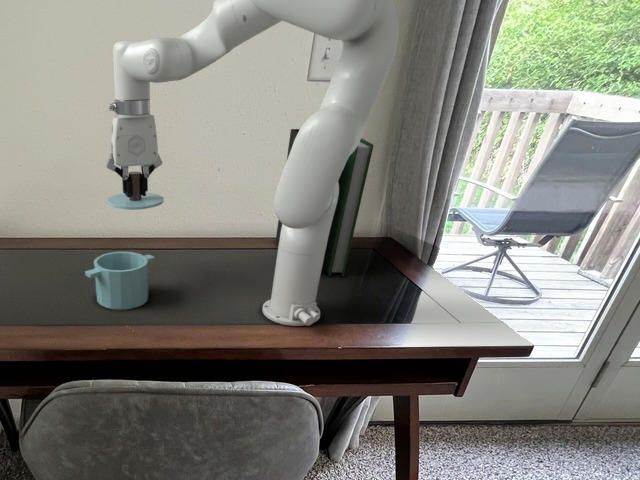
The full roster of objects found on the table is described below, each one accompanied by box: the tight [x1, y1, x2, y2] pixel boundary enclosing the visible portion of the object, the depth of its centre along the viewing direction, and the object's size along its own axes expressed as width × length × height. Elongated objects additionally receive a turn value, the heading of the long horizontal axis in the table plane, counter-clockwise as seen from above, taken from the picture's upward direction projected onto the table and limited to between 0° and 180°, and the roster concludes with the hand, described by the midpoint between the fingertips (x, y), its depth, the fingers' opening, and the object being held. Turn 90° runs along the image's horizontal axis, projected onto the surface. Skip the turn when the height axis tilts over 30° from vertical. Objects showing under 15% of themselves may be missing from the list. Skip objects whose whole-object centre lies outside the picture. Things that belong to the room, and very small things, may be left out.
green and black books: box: [275, 128, 374, 277], centre depth 128 cm, size 27×15×32 cm, turn 176°
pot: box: [84, 251, 156, 311], centre depth 114 cm, size 13×18×10 cm
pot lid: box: [106, 171, 165, 211], centre depth 112 cm, size 14×14×7 cm
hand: (135, 194), depth 113 cm, fingers closed on pot lid, 3 cm apart
